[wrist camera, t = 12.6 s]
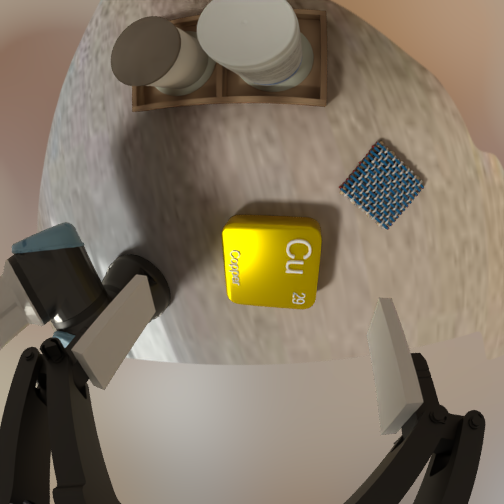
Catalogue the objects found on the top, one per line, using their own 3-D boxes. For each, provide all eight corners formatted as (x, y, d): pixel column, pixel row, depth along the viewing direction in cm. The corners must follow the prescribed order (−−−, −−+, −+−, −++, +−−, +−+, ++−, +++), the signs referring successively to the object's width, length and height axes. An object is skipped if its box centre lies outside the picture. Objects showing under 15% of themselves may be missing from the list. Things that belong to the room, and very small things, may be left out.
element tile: (227, 213, 44) (218, 224, 40) (321, 217, 41) (323, 229, 37) (233, 289, 51) (226, 305, 47) (314, 295, 48) (314, 312, 44)
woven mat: (384, 230, 40) (387, 235, 38) (335, 189, 39) (336, 192, 37) (424, 183, 35) (429, 186, 33) (377, 137, 34) (380, 138, 32)
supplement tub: (313, 44, 28) (318, 5, 15) (283, 97, 33) (271, 84, 20) (251, 19, 27) (222, -24, 15) (222, 71, 32) (178, 50, 19)
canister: (153, 94, 35) (110, 92, 25) (154, 42, 31) (113, 28, 21) (209, 87, 34) (176, 78, 24) (210, 31, 29) (179, 8, 20)
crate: (142, 111, 37) (132, 111, 35) (144, 33, 30) (134, 30, 28) (324, 106, 33) (326, 105, 30) (324, 18, 26) (326, 11, 23)
